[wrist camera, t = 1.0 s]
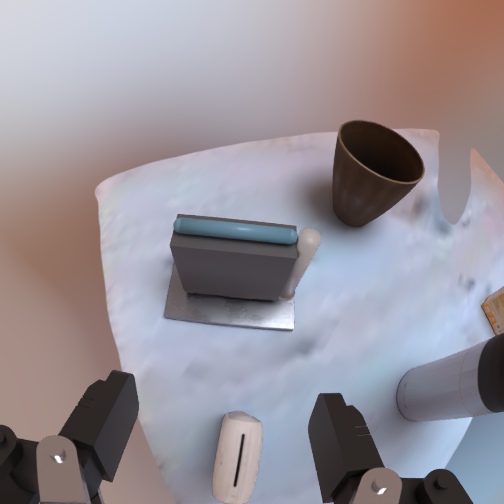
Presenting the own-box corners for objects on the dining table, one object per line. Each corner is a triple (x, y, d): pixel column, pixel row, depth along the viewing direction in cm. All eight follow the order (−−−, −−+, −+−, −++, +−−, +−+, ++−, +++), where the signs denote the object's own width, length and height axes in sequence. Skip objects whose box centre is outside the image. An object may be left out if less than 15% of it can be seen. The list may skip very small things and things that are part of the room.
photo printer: (245, 481, 28) (254, 513, 17) (212, 476, 28) (207, 507, 17) (256, 413, 33) (270, 418, 22) (224, 408, 33) (223, 411, 22)
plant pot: (306, 228, 49) (334, 159, 35) (319, 173, 56) (341, 109, 42) (383, 254, 47) (430, 198, 34) (384, 196, 55) (418, 140, 41)
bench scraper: (293, 278, 42) (321, 219, 29) (292, 304, 40) (324, 253, 27) (189, 267, 41) (175, 204, 29) (184, 293, 39) (167, 236, 27)
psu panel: (292, 263, 45) (294, 258, 44) (292, 331, 39) (294, 328, 38) (178, 251, 44) (177, 246, 43) (165, 318, 39) (163, 315, 37)
